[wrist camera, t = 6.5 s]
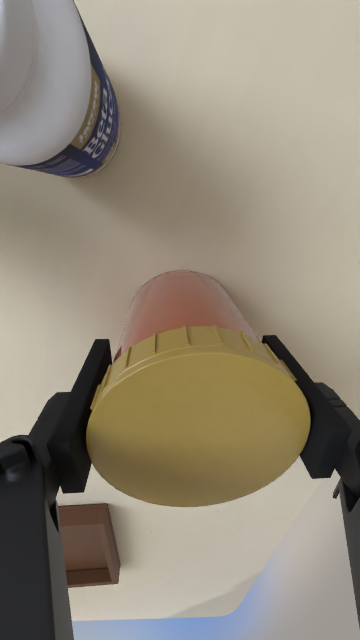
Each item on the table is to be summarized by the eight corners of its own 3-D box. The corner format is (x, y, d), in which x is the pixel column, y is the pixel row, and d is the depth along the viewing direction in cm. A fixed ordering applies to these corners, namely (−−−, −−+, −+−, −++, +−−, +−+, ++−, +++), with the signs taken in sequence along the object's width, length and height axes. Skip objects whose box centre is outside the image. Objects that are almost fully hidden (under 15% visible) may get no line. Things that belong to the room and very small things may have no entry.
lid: (271, 464, 13) (286, 501, 12) (108, 473, 13) (100, 514, 11) (311, 321, 9) (342, 347, 8) (80, 326, 9) (61, 355, 7)
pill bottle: (127, 178, 14) (70, 152, 6) (30, 178, 14) (-192, 150, 5) (116, 47, 12) (-14, -369, 3) (-2, 44, 11) (-515, -429, 3)
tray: (-8, 574, 34) (-18, 594, 33) (-55, 513, 27) (-70, 535, 26) (120, 564, 36) (118, 584, 34) (107, 503, 29) (103, 523, 27)
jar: (131, 367, 20) (109, 491, 12) (123, 270, 17) (81, 349, 8) (229, 364, 21) (275, 482, 12) (240, 269, 17) (317, 343, 9)
